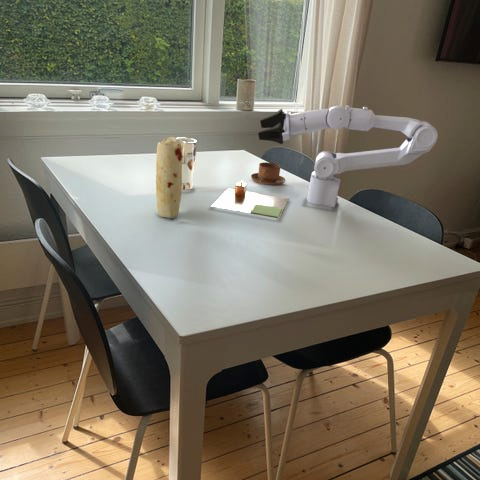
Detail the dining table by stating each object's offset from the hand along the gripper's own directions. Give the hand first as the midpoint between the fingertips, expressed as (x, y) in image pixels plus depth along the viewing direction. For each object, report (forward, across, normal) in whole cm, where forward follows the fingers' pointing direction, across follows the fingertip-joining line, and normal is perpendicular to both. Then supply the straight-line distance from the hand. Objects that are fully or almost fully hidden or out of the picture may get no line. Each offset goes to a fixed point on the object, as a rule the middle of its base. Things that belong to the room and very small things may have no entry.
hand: (259, 129), depth 145 cm
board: (+4, +16, +15) cm, 23 cm away
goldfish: (+8, +10, +15) cm, 20 cm away
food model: (+24, +32, +4) cm, 40 cm away
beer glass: (+26, +9, +11) cm, 30 cm away
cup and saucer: (+3, -9, +24) cm, 26 cm away
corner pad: (-1, +22, +14) cm, 26 cm away
